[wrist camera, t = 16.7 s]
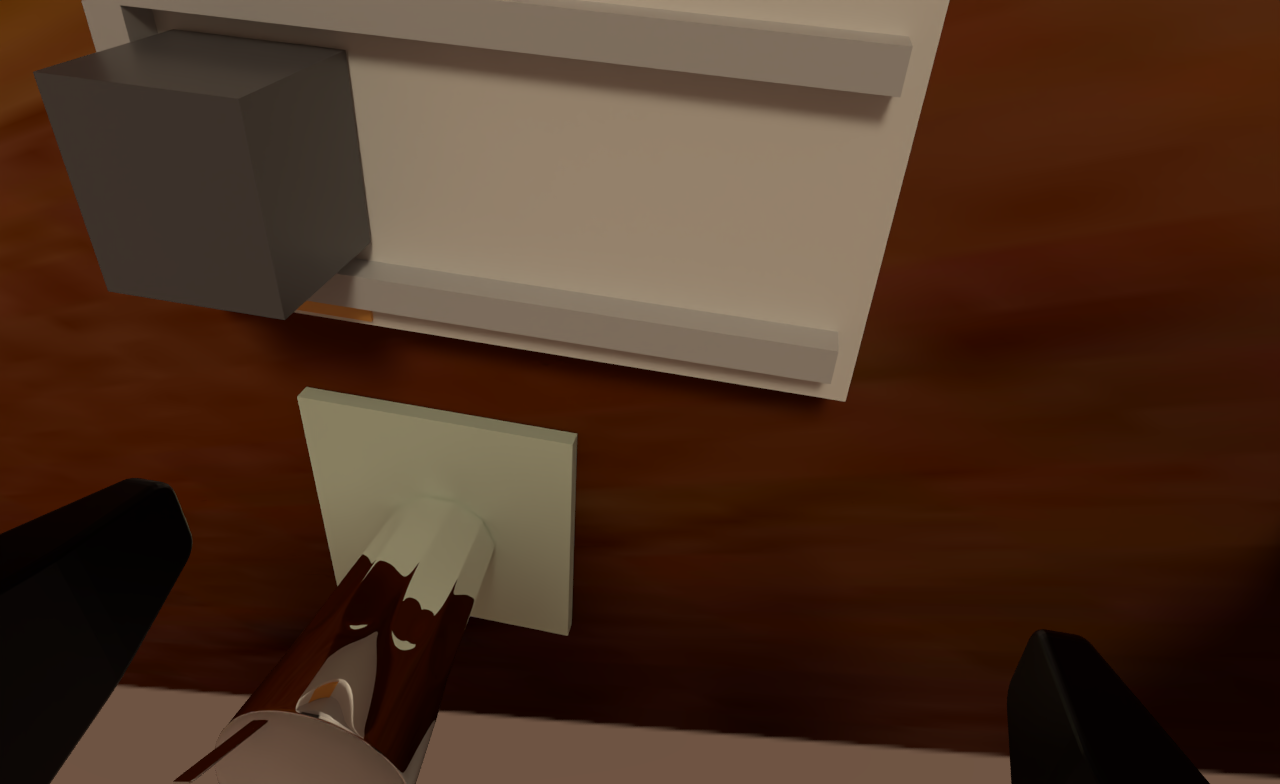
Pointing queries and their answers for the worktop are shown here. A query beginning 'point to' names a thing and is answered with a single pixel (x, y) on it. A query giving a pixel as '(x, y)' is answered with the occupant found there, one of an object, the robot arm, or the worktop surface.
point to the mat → (452, 492)
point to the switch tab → (213, 167)
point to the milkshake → (365, 662)
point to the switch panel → (614, 169)
